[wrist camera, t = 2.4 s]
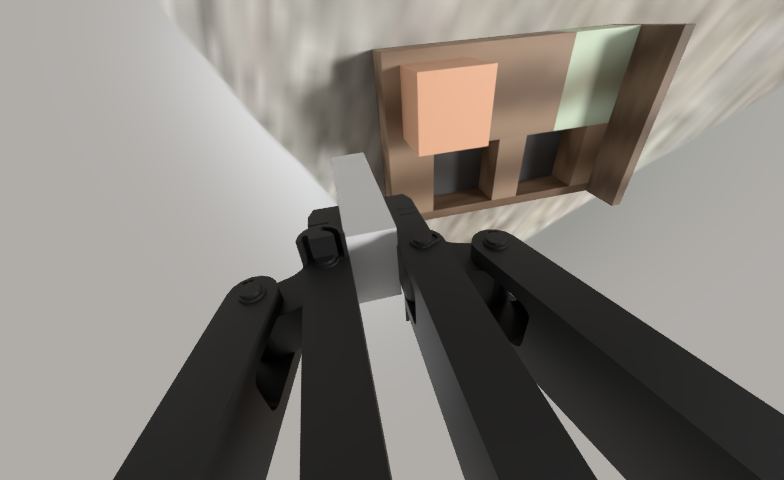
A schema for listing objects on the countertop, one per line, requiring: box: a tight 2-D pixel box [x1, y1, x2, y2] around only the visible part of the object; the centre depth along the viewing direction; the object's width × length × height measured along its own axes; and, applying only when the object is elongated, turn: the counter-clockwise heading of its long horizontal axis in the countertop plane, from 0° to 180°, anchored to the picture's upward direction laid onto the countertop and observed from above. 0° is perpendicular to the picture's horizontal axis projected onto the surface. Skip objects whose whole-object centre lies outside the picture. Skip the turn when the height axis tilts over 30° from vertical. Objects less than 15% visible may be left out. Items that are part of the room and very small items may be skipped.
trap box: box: [372, 24, 696, 220], centre depth 31 cm, size 16×25×8 cm, turn 95°
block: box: [400, 57, 498, 157], centre depth 25 cm, size 6×6×5 cm
